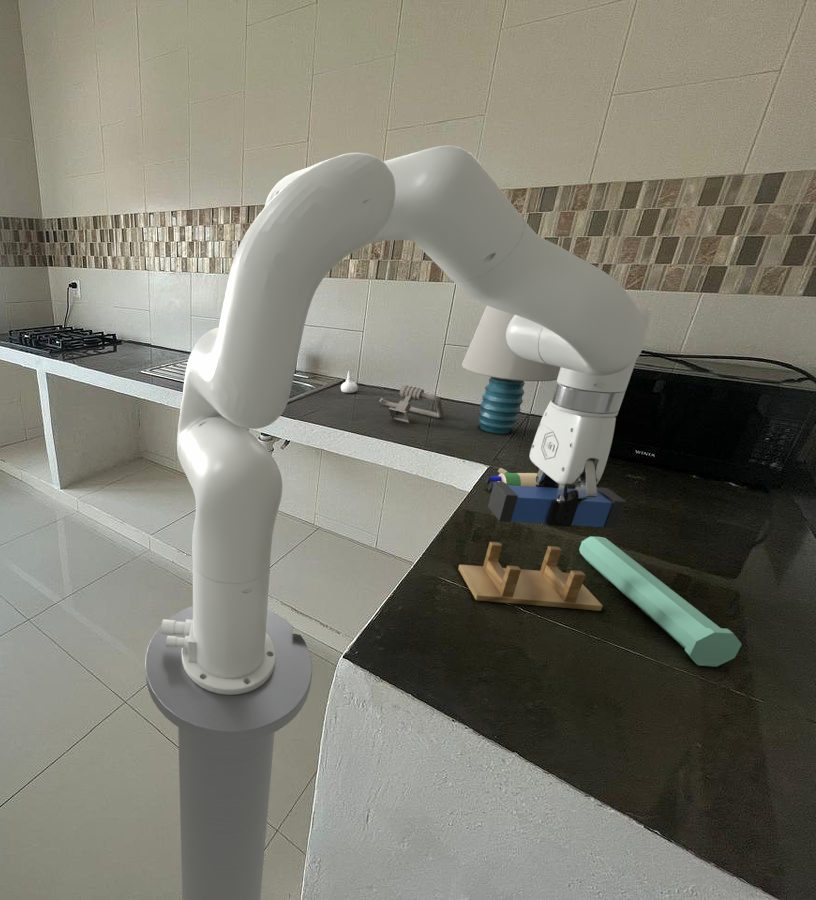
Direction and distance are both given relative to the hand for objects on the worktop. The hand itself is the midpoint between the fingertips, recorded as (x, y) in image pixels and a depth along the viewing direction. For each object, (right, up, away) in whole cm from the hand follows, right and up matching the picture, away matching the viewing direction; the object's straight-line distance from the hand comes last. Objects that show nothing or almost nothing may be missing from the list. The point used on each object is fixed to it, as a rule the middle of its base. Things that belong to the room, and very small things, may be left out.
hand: (549, 515), depth 72 cm
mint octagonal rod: (+15, -14, +3) cm, 21 cm away
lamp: (+36, +16, +76) cm, 85 cm away
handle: (0, 0, 0) cm, 0 cm away
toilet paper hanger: (+11, +21, +87) cm, 90 cm away
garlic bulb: (+1, +32, +114) cm, 118 cm away
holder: (0, -13, +5) cm, 14 cm away
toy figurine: (+18, 0, +37) cm, 41 cm away
